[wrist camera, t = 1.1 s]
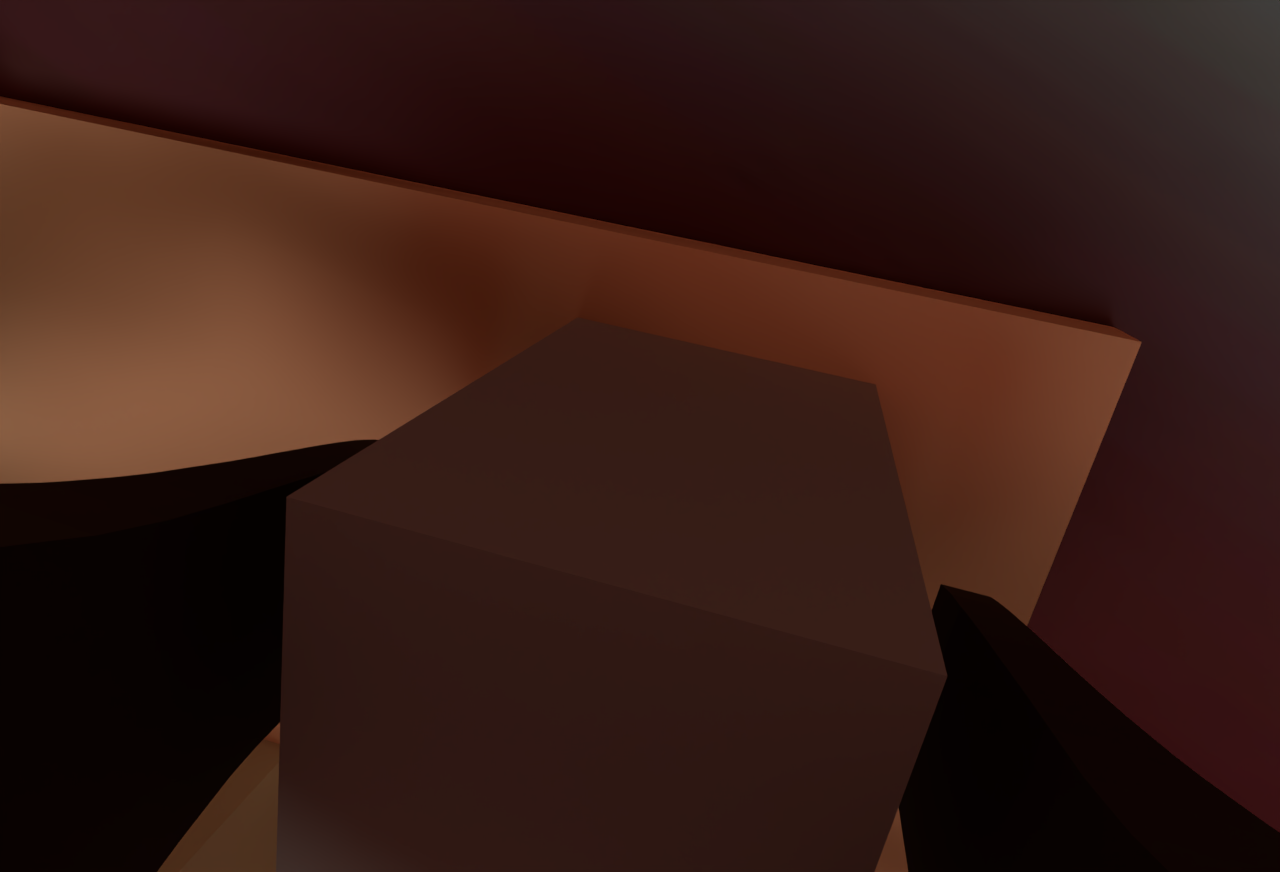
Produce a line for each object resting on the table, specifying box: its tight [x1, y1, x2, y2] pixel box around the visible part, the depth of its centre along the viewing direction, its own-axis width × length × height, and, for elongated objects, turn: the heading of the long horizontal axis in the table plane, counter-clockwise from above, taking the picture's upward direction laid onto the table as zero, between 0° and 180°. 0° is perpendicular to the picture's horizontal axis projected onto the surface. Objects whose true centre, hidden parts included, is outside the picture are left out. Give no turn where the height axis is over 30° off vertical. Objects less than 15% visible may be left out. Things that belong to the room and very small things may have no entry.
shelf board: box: [0, 96, 1142, 872], centre depth 16 cm, size 19×22×4 cm
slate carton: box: [276, 318, 947, 872], centre depth 10 cm, size 5×5×8 cm
